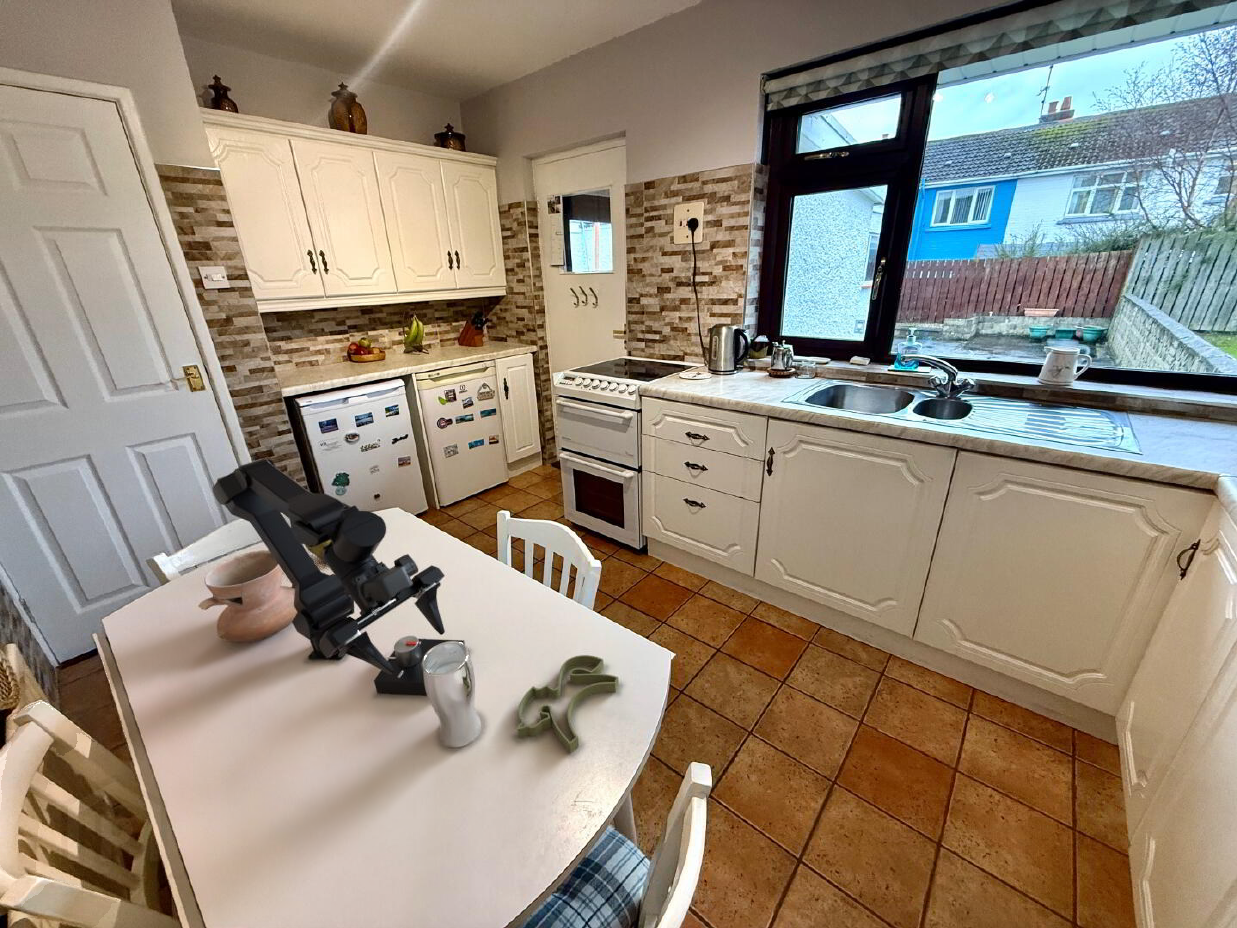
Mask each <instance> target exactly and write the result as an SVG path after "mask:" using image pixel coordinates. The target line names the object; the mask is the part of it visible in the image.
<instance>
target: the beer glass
mask: <svg viewBox="0 0 1237 928" xmlns="http://www.w3.org/2000/svg"><path fill="white" fill-rule="evenodd" d="M473 665H474V664H473V662H472V659H471V655H470V653H469V648H468V647H467V645H466V644H465V645H464V644H463V643H461V642H457V641H448V642H444V643H441V644H438V645H436V646H434V647H433V648H431V649H430V650H429V651H428V652H427V653H426V654H425V655H424V657H423V659H422V661H421V667H422V673H423V681H424V686H425V690H426V694H427V696H426V697H427V699H428V701H429V703H430V706H431V707H432V709H433V712H434V713H435V714H436V716H437V718H438V721H439V725H440V727H439V737H440V740H441V743H442V744H443V745H444V746H446V747H448V748H452V749H459V748H464V747H465V746H468V745H469V744H471V743H472V742H474V740H475V739H476V738H477V737H478V735H479V734H480V732H481V729H482V721H481V718H480V716H479V714H478V713H477V710H476V705H475V704H476V703H475V701H476V700H475V699H476V675H475V670H474V666H473Z"/></svg>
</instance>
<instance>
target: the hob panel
mask: <svg viewBox="0 0 1237 928" xmlns="http://www.w3.org/2000/svg"><path fill="white" fill-rule="evenodd" d="M418 640H419V645H420V649H421V653H422V658H421V660H420V661H419V662H418V663H417V664H415V665H414V666H411V667H407V668H404V667H400V666H399V665H398V662H397V658H396V654H395V651H394V650H393V651H392V653H391V654H390V656H388V657H387V659H386V660H387V661H388V662H389V664H390V665H391V667H392V668H393V670H394V672H393V673H392V674H388V673H386V672H384V671H382V670H381V669H380V670H379V672H378V674H377V675H376V676H375V679H374V680H373V683H374V688H375V689H376V690H375V691H376V693H377V695H394V696H395V695H396V696H419V697H427V694H426V690H425V686H424V681H423V673H422V667H421V661H422V659H423V657H424V655H425V654H426V653H427V652H428V651H429V650H430V649H431V648H433V647H434V646H436V645H438V644H441V643H444V642H448V641H457V642H461V643H463V644H464V645H466V643H465V640H464V639H436V638H435V639H434V638H418Z"/></svg>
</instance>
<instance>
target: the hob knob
mask: <svg viewBox="0 0 1237 928" xmlns="http://www.w3.org/2000/svg"><path fill="white" fill-rule="evenodd" d="M418 639H419V638H418V637H417V636H415V635H405V636H402V637H401V638H399V639H398V640H396V642H395V643H394V644H393V651H395V654H396V658H397V662H398V665H399V666H400V667H404V668H407V667H411V666H414V665H415V664H417V663H418V662H419V661H420V660H421V658H422V653H421V649H420V645H419V640H418Z"/></svg>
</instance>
